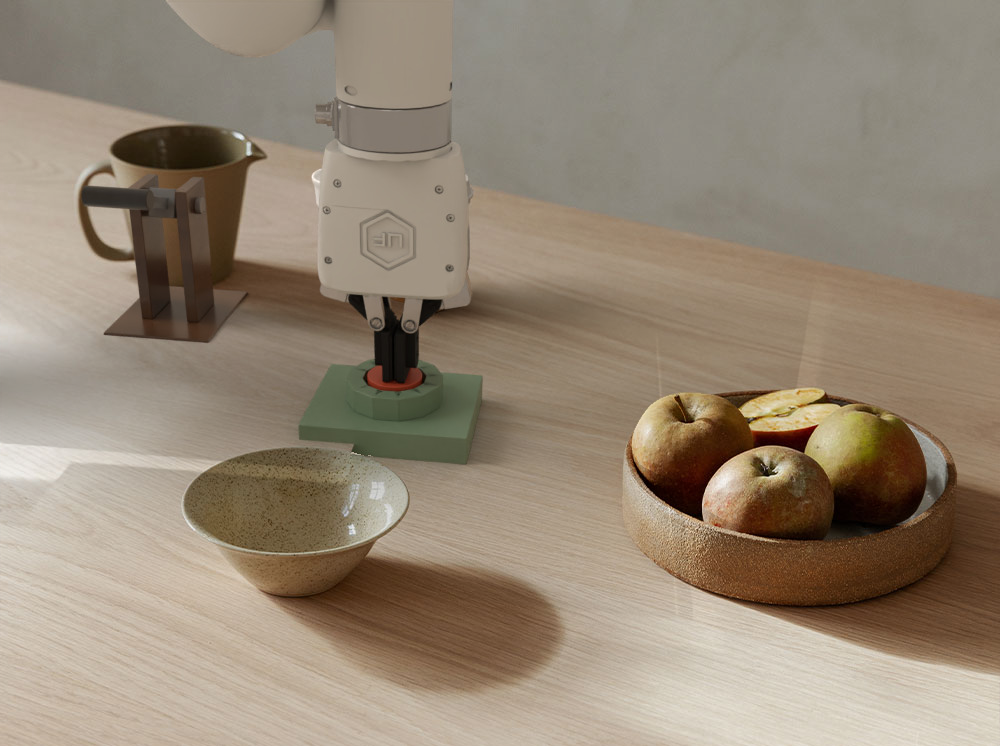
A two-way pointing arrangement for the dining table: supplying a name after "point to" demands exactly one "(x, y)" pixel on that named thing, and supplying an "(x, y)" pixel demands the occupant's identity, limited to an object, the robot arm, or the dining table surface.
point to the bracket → (197, 303)
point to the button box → (396, 414)
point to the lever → (132, 199)
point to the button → (411, 381)
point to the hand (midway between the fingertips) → (397, 374)
